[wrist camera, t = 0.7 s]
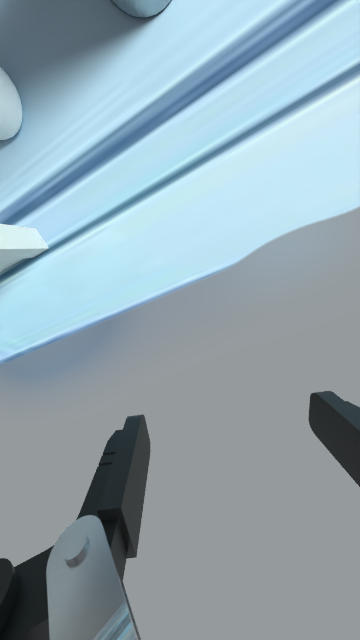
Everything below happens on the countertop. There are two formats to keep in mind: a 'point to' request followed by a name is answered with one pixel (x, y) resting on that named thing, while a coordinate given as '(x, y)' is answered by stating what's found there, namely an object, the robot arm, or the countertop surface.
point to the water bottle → (9, 107)
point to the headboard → (19, 244)
